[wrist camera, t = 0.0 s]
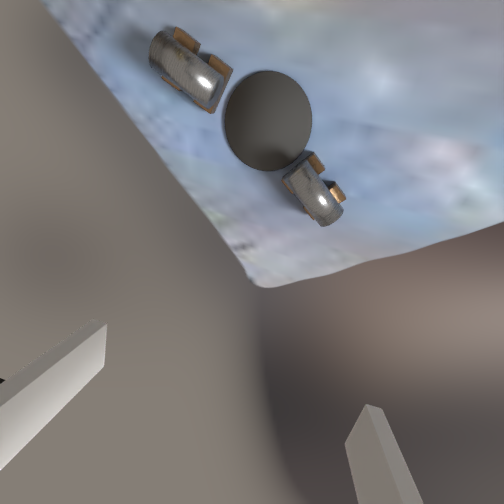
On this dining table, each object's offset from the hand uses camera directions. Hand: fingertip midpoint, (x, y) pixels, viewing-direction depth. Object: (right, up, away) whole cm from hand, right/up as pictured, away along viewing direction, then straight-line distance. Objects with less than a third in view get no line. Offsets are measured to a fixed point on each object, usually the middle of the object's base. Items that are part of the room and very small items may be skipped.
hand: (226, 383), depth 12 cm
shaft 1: (-5, +28, +17) cm, 33 cm away
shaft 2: (+10, +16, +21) cm, 28 cm away
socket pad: (+3, +23, +18) cm, 29 cm away
